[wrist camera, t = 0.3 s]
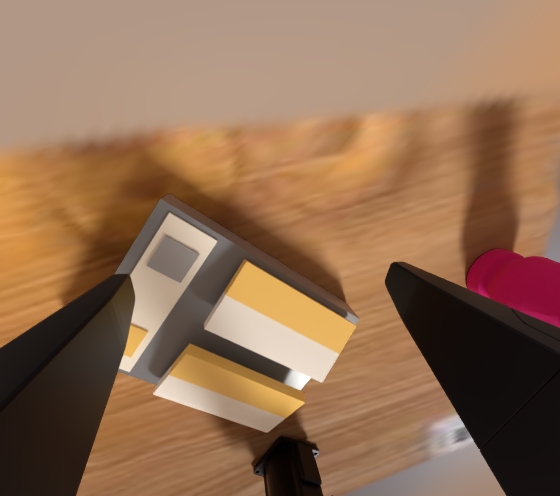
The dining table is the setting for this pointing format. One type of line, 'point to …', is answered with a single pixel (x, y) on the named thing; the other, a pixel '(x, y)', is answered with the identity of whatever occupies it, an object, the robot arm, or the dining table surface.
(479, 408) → the robot arm
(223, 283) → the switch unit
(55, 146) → the dining table surface
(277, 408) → the switch
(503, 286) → the pepper mill
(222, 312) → the switch
